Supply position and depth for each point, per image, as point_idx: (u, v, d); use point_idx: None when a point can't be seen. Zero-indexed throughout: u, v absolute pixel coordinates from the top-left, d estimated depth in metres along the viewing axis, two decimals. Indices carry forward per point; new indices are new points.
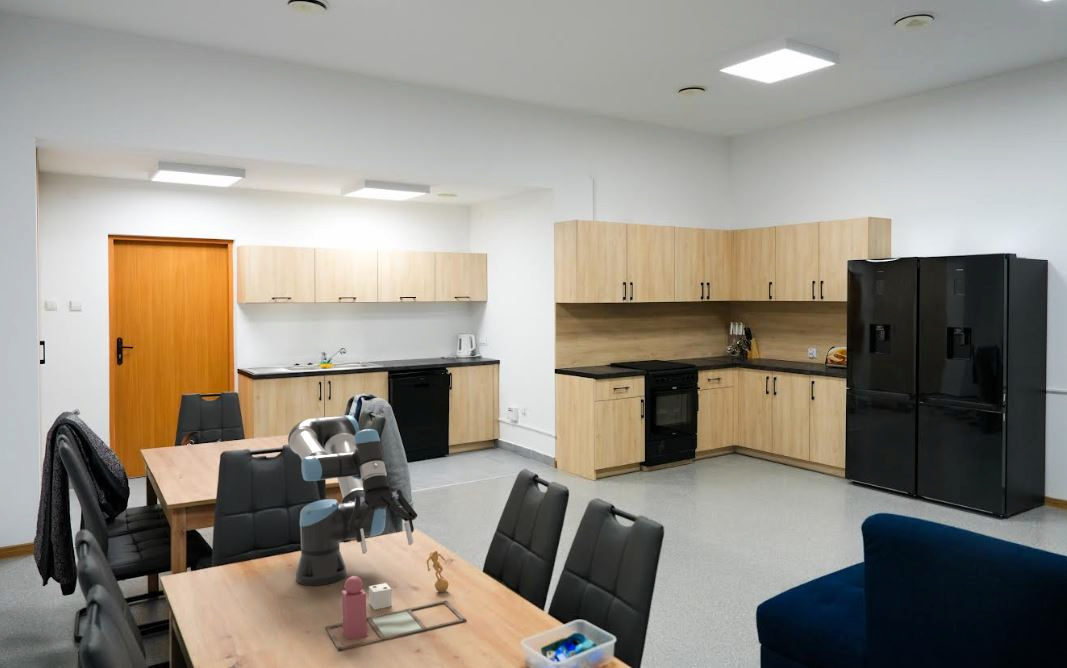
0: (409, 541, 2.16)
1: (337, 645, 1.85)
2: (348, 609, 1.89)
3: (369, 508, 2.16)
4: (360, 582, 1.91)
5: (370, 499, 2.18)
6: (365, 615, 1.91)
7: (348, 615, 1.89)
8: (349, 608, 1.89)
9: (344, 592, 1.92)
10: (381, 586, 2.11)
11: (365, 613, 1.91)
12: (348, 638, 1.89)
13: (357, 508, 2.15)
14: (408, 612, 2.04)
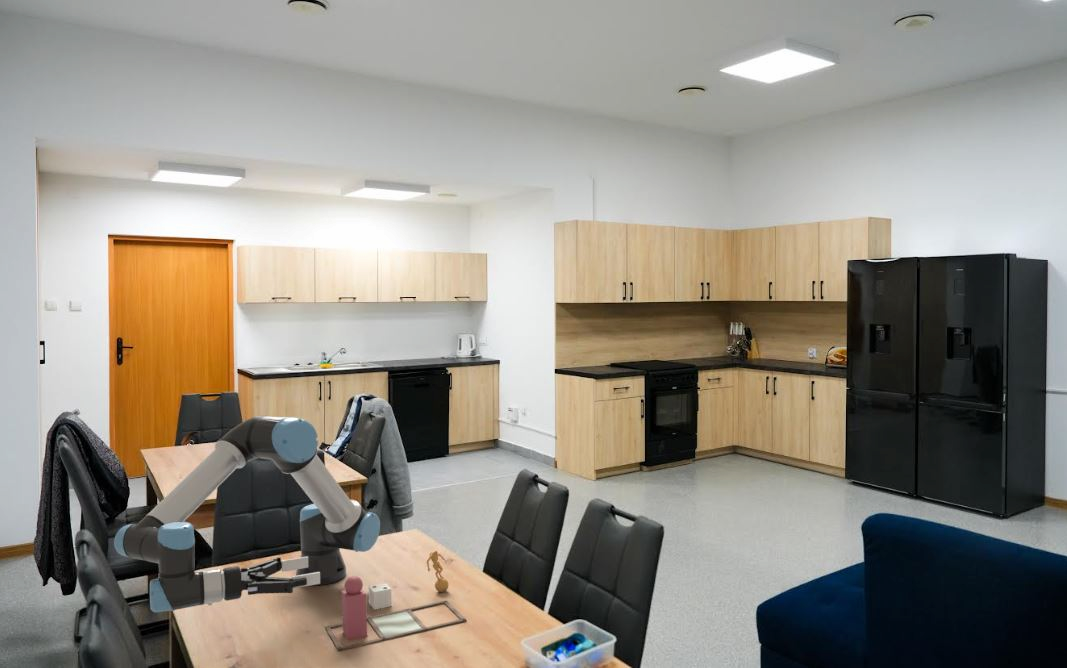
0: None
1: (337, 645, 1.85)
2: (348, 609, 1.89)
3: None
4: (360, 582, 1.91)
5: None
6: (365, 615, 1.91)
7: (348, 615, 1.89)
8: (349, 608, 1.89)
9: (344, 592, 1.92)
10: (381, 586, 2.11)
11: (365, 613, 1.91)
12: (348, 638, 1.89)
13: None
14: (408, 612, 2.04)
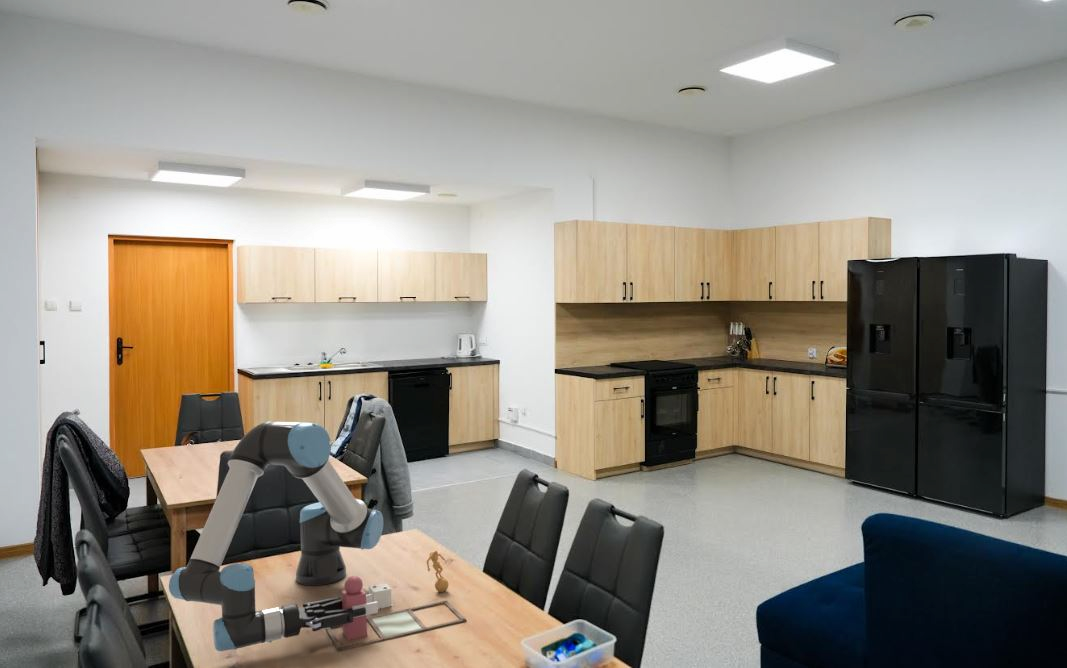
0: None
1: (337, 645, 1.85)
2: None
3: None
4: (360, 582, 1.91)
5: None
6: (365, 615, 1.91)
7: None
8: (349, 608, 1.89)
9: (344, 592, 1.92)
10: (381, 586, 2.11)
11: None
12: (348, 638, 1.89)
13: None
14: (408, 612, 2.04)
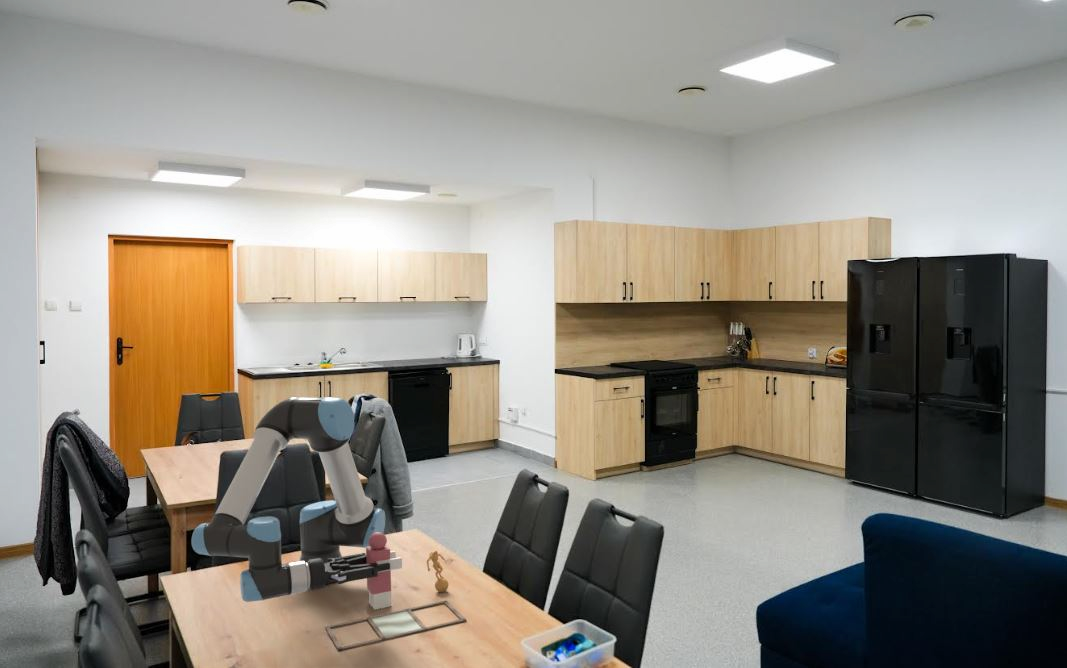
0: None
1: (337, 645, 1.85)
2: None
3: None
4: (384, 538, 1.92)
5: None
6: (389, 570, 1.92)
7: None
8: None
9: (368, 548, 1.93)
10: None
11: None
12: (372, 593, 1.90)
13: None
14: (408, 612, 2.04)
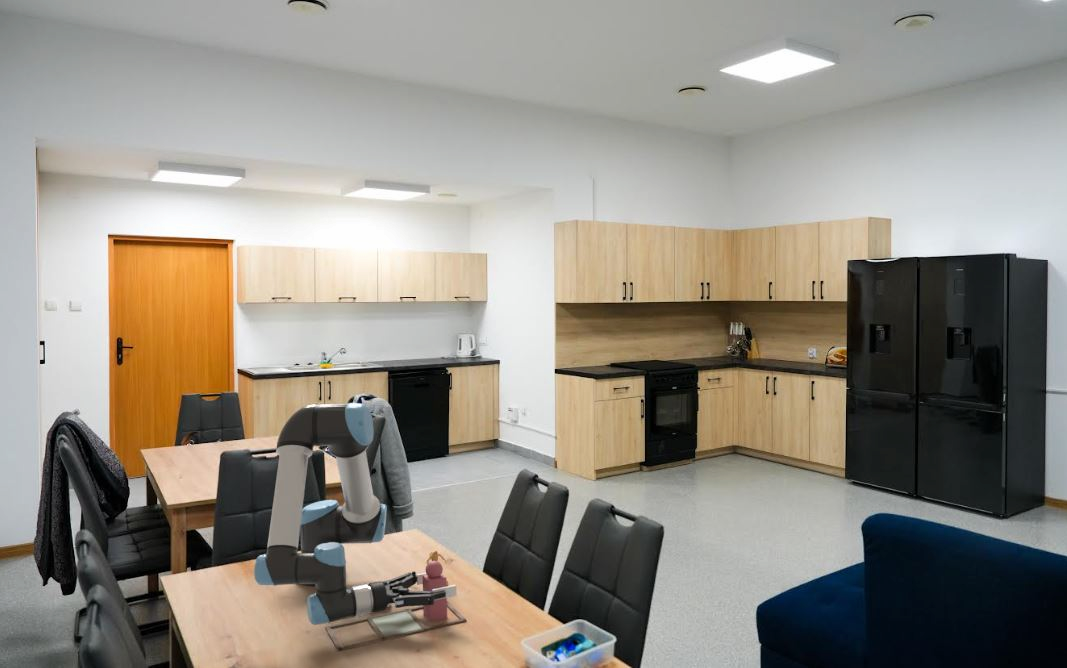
0: None
1: (337, 645, 1.85)
2: None
3: None
4: (440, 566, 2.01)
5: None
6: (445, 598, 2.01)
7: None
8: None
9: (425, 576, 2.02)
10: None
11: None
12: (430, 619, 1.99)
13: None
14: (408, 612, 2.04)
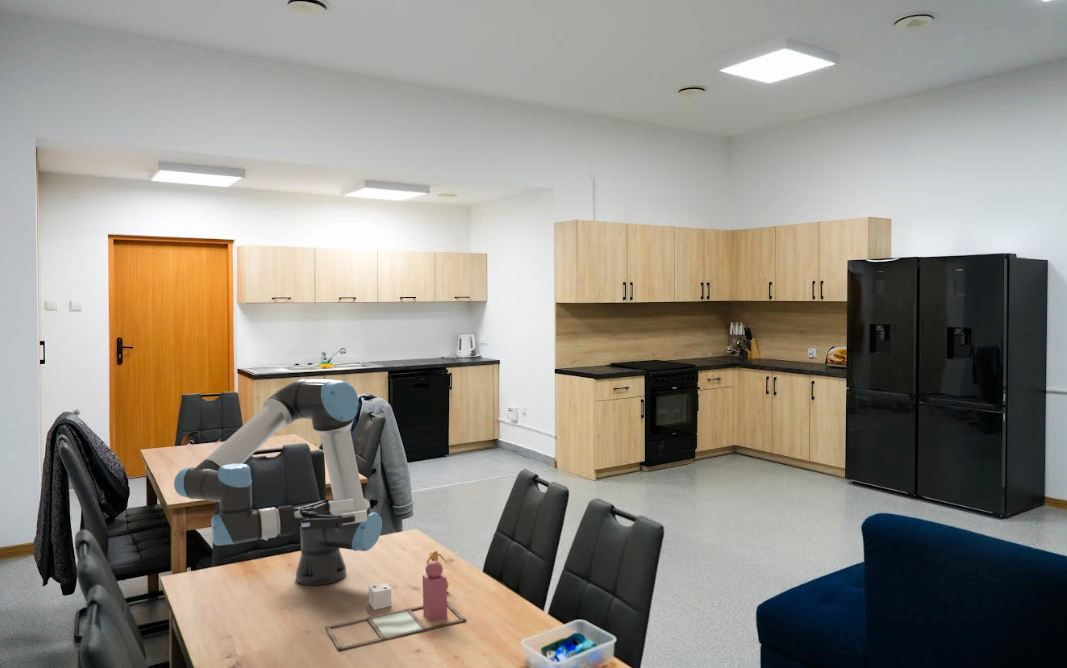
0: None
1: (337, 645, 1.85)
2: (430, 592, 1.99)
3: None
4: (441, 566, 2.01)
5: None
6: (445, 598, 2.01)
7: (430, 598, 1.99)
8: (431, 591, 1.99)
9: (425, 576, 2.02)
10: (381, 586, 2.11)
11: (445, 596, 2.01)
12: (430, 619, 1.99)
13: None
14: (408, 612, 2.04)
